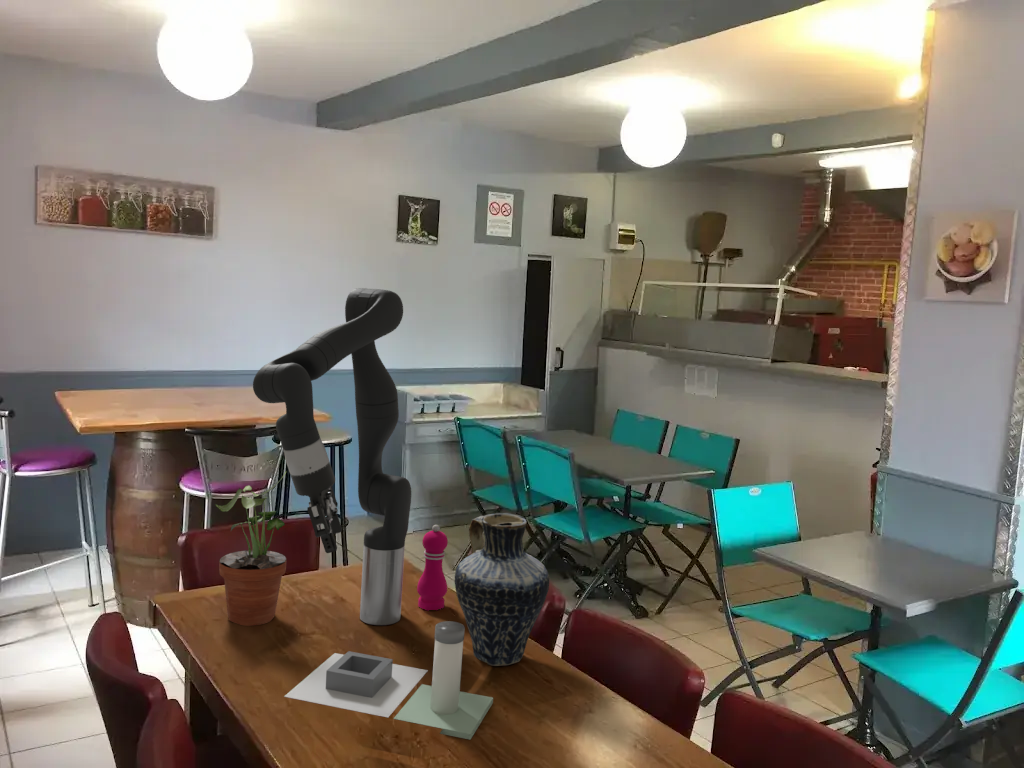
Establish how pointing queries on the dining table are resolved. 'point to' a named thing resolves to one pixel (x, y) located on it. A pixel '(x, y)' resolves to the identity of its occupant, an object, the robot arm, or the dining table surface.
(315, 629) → the dining table surface
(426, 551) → the pepper mill
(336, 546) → the robot arm
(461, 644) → the cartridge
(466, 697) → the mat
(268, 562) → the potted plant
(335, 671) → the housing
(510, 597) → the jug
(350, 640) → the dining table surface
